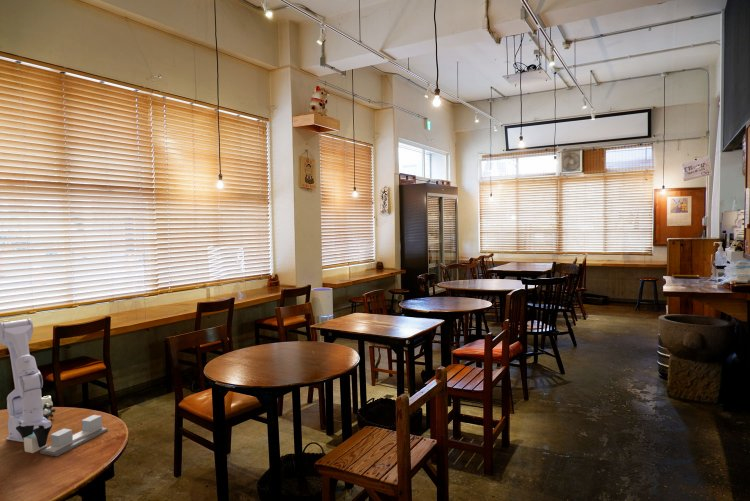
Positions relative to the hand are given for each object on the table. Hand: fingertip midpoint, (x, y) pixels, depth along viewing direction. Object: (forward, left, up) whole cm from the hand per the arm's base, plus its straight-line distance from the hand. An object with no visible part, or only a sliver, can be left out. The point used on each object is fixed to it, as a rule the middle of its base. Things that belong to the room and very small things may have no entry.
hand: (35, 444), depth 165 cm
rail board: (+9, +8, -1) cm, 12 cm away
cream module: (0, 0, -2) cm, 2 cm away
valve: (-25, +22, -2) cm, 34 cm away
